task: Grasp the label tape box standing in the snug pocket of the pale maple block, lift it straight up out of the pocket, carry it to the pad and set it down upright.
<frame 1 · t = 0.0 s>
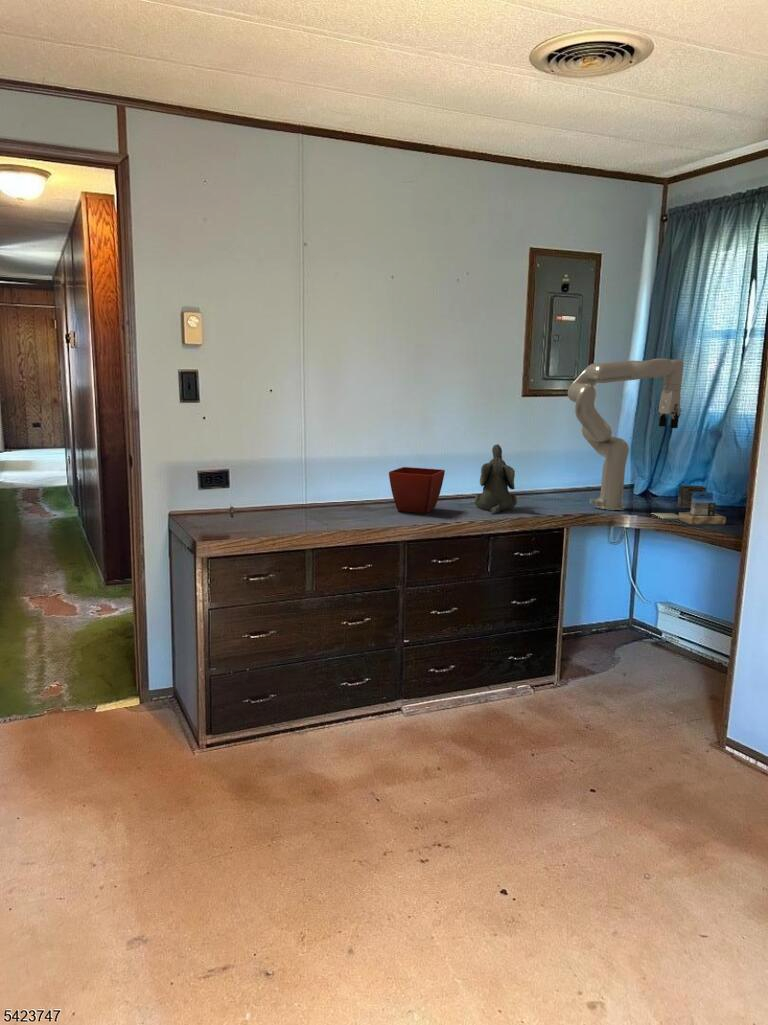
hand: (667, 427, 338), 37 cm above the table, tool pointing down, fingers open, 9 cm apart
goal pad: (667, 516, 325), on the table
small box: (690, 509, 347), on the table
grey seated figure statue: (495, 509, 331), on the table
label tape box: (701, 522, 316), resting in pocket block
pocket block: (701, 521, 316), on the table
plant pot: (415, 510, 322), on the table
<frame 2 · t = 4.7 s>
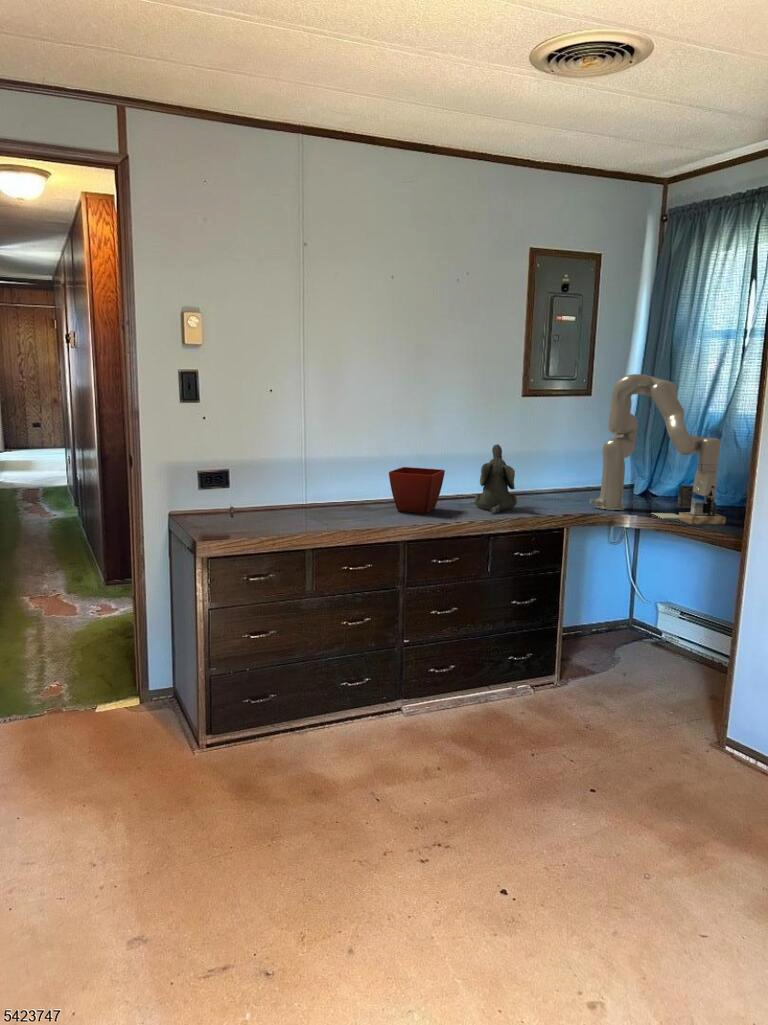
hand: (702, 511, 315), 4 cm above the table, tool pointing down, fingers closed on label tape box, 4 cm apart
label tape box: (701, 522, 316), resting in pocket block, touching gripper
everything else where it was.
when the fingers open (6 cm above the table, at t = 11.5 s): label tape box stays where it is, resting on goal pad.
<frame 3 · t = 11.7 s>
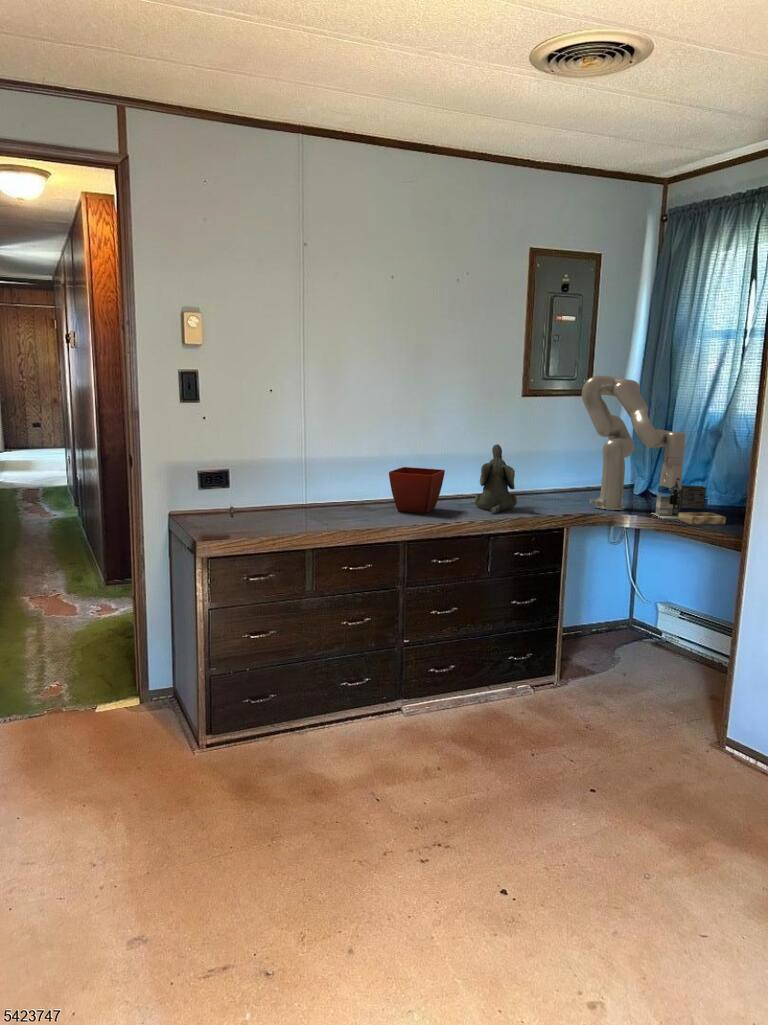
hand: (669, 502, 324), 6 cm above the table, tool pointing down, fingers open, 6 cm apart
label tape box: (666, 515, 325), resting on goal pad
everything else where it was.
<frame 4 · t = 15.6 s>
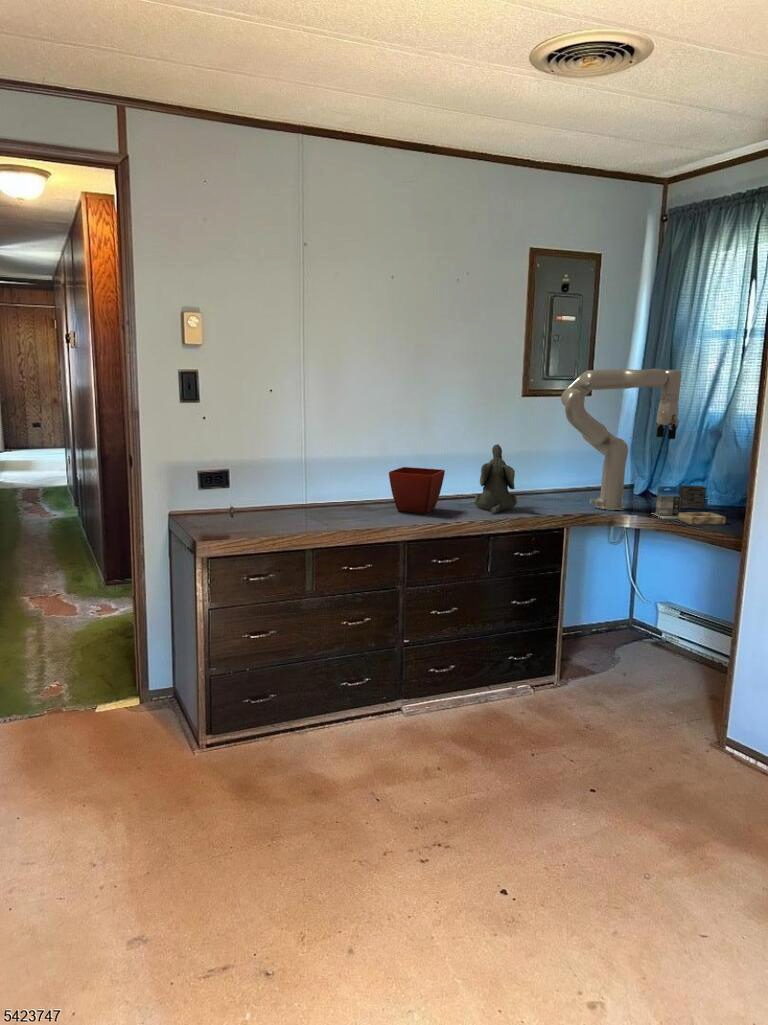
hand: (665, 438, 334), 32 cm above the table, tool pointing down, fingers open, 9 cm apart
nothing on the table moved.
at the end: label tape box inside the target area on the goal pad (0.5 cm from its centre), point 0.4 cm above the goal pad's base; label tape box tilted 0°; the gripper is holding nothing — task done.
